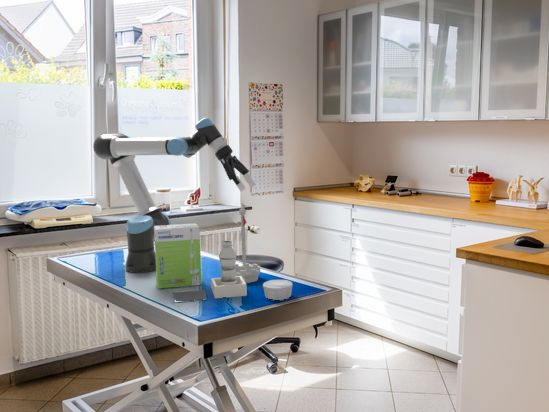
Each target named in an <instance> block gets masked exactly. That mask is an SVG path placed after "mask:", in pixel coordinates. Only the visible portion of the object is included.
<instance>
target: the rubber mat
mask: <svg viewBox="0 0 549 412" xmlns="http://www.w3.org/2000/svg"><path fill="white" fill-rule="evenodd" d="M172 295H174V296H173V301H174V300H176V301H191V302H195V301H194V300H202V301H204V300H203V299H207V300H208V297H207V294H206V291H205V289H195V290H187V291H175V292H173V293H172Z"/></svg>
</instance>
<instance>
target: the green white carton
mask: <svg viewBox="0 0 549 412" xmlns="http://www.w3.org/2000/svg"><path fill="white" fill-rule="evenodd" d="M200 229H201V228H200V226H199V225H198V224H197V223H194V222H193V223H181V224H179V223H177V224H171V225H160V226H154V236H155V241H154V250H155V257H156V270H155V276H156V278H155V279H156V284H157V288H158V289H169V288H183V287H185V288H186V287H193V286H194V287H195V286H201V285H202V282H203V280H202V279H203V278H202V261H201V260H202V257H201V255H202V254H201V232H200Z"/></svg>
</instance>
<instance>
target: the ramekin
mask: <svg viewBox="0 0 549 412" xmlns="http://www.w3.org/2000/svg"><path fill="white" fill-rule="evenodd" d="M293 286H294V285H293V282H292V281H290V280H287V279H270V280H267V281H265V282H263V284H262V288H263V292H264V296H265V298H266V299H267V298H268V299H267V300H269V299H273V300H272V301H274V300H280V301H285V300H284V299H286V300H288V299H290V298H291V296H292V292H293V290H292V289H293ZM289 297H290V298H289Z"/></svg>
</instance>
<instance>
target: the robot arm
mask: <svg viewBox="0 0 549 412" xmlns="http://www.w3.org/2000/svg"><path fill="white" fill-rule="evenodd" d="M194 126H195V129H196V130H195V131H194V132H193V133H192V134H191V135H190V136H185V137H184V136H183V137H181V136H180V137H178V136H177V137H142V138H141V137H136V138H135V137H133V138H132V137H131V136H129V135H128V134H126V133H119V132H115V133H106V134H101V135H99V136H97V137H96V138H95V140H94V142H93V151H94V153H95V155H96V156H97V157H98V158H100V159H102V160H109V161H110V163H111V166H112V167H115V168H117V170H118V174H120V177H121V180H122V181H123V184H124V186H125V188H126V190H127V192H128V195H129V197H130V199H131V201H132V203H133V204H134V207H135V209H136V211H137V216H133V217H131V218H129V219H128V220H127V221H126V227H125V229H126V230H125V231H126V238H127V241H126V242H127V253H128V254H127V257H126V261H125V263H124V267H125V269H126V270H128V271H132V272H131V273H147V272H146V271H149V272H152V271H156V257H155V236H154V226H160V225H172V222H171V220H170V217H169V216H168V215H167V214H164V213H163V211H162V209H161V208H160V207H159V206H156V205H155V203H154V200H153V197H152V196H151V194H150V192H149V189H148V188H147V186H146V183H145V181H144V179H143V177H142V175H141V173H140V171H139V168H138V166H137V164H136V162H135V158H136V156H177V157H178V156H183V157H185V158H187V159H190V158H191V157H193V156H195V155H196V154H197V153H198V152H199V151H201V149H203V148H204V147H205V146H206V145H207V146H208V147H209V149H210V150H211V152H212V153H213V154H214V155H215V157H216V159H217V160H218V161H220V163H221V165H222V167H223V169H224V171H225V174H226V175H227V178H228V180H229V181H231V180H232V181H233V182H234V184H235V186H236V187H237V189H238V190H239V191H240V192H243V191H244V190H245V189H247V187H246V186H245V184H244V183H243V181H242V180H241V178H240V177H239V176H238V175H237V173H236V171H238V172H239V173H240V174H241V175H242V176H243V178H244V180H245V181H246V183H247V184H248V186H249V187H250V188H254V187H255V186H256V185H257V183H256V182H255V180H254V179H253V178H252V176H251V175H250V174H249V172H250V170H249V169H248V168H247V167H246V166H245V165H244V164H243V163H242V162H241V161H240V160H239V159H238V157H237V156H236V155H232V154H233V149H232V148H231V146H230V145H229V144H228V143H227V141H226V138H225V137H223V135H222V134H221V132H220V130H219V129H218V128H217V127H216V125H215V123H213V120H211V119H210V117H203V118H202V119H200V120H199V121H198V122H197V123H196V124H195V125H194ZM126 270H125V271H126ZM128 271H127V272H128Z"/></svg>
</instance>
